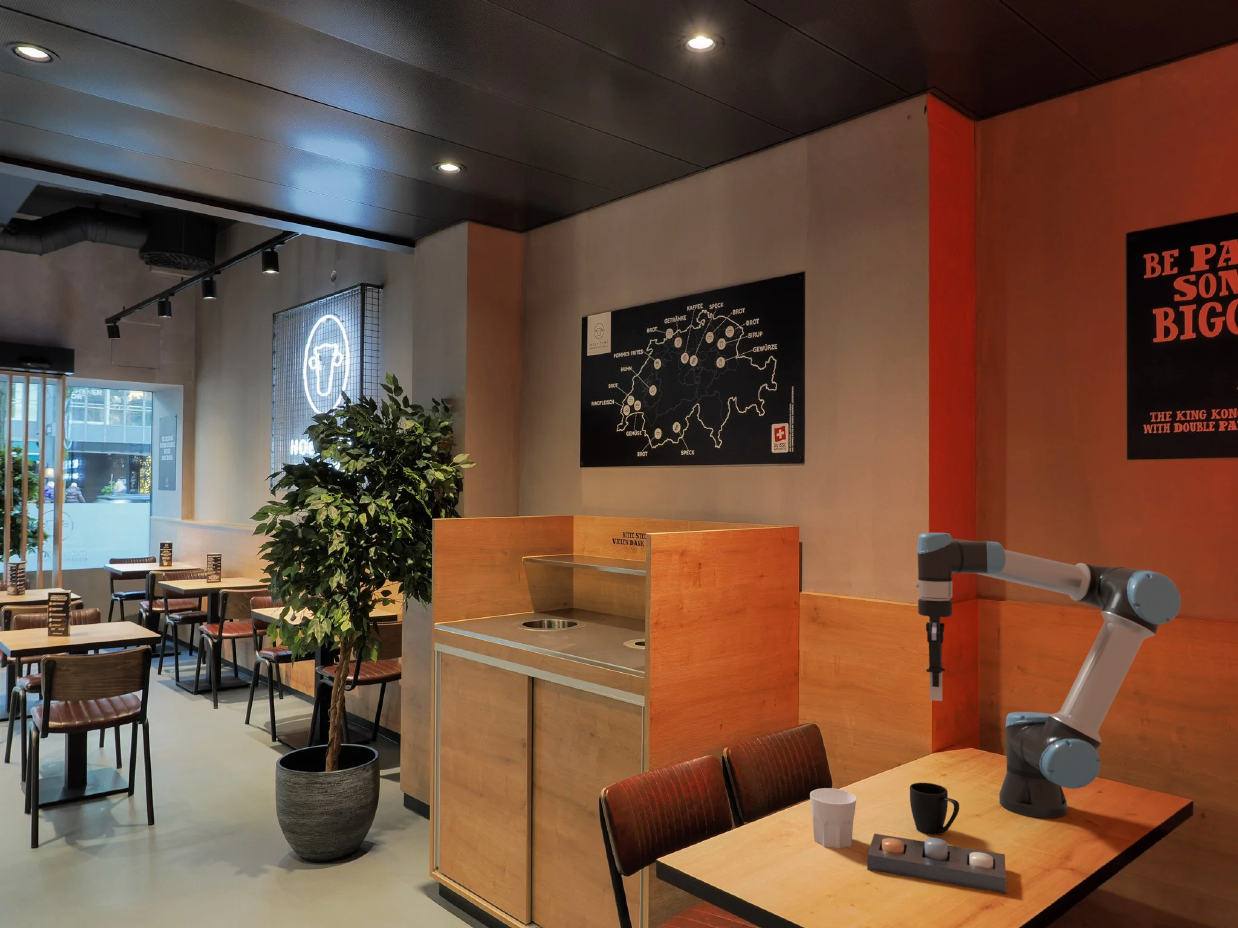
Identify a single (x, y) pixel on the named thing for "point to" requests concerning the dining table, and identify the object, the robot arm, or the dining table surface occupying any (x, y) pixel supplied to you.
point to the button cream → (981, 860)
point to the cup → (833, 816)
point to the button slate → (936, 849)
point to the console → (938, 865)
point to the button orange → (893, 845)
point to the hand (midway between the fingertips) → (936, 699)
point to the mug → (931, 808)
